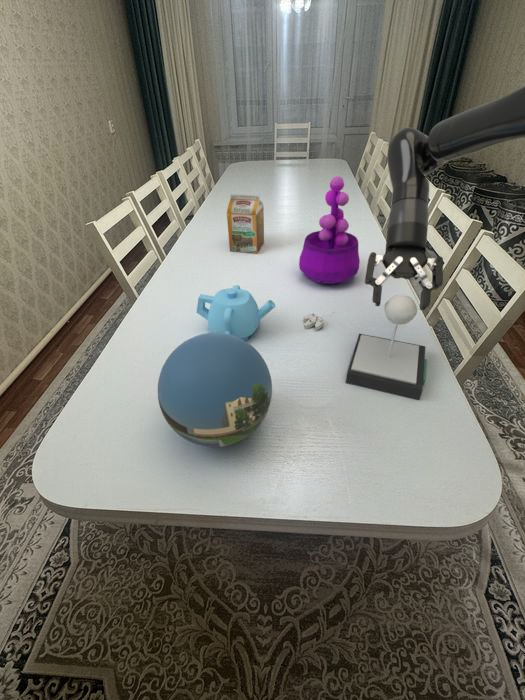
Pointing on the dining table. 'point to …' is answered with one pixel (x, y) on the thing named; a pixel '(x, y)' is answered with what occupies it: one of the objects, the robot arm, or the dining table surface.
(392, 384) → the scale
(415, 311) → the lollipop
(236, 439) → the decorative sphere
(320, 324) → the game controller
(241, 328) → the teapot
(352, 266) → the decorative plant
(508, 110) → the robot arm
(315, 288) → the dining table surface
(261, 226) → the milk carton
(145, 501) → the dining table surface
